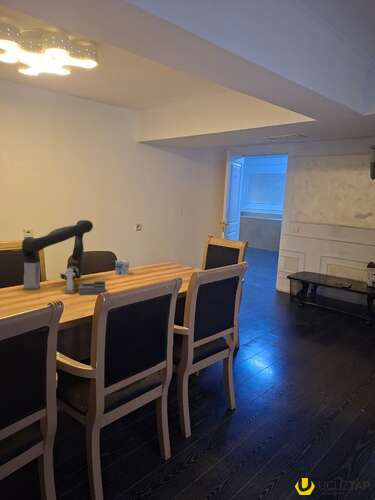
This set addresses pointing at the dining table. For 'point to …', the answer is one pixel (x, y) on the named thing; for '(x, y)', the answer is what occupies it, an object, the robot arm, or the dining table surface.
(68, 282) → the steel post
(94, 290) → the keyhole board
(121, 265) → the light bulb box
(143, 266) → the dining table surface
